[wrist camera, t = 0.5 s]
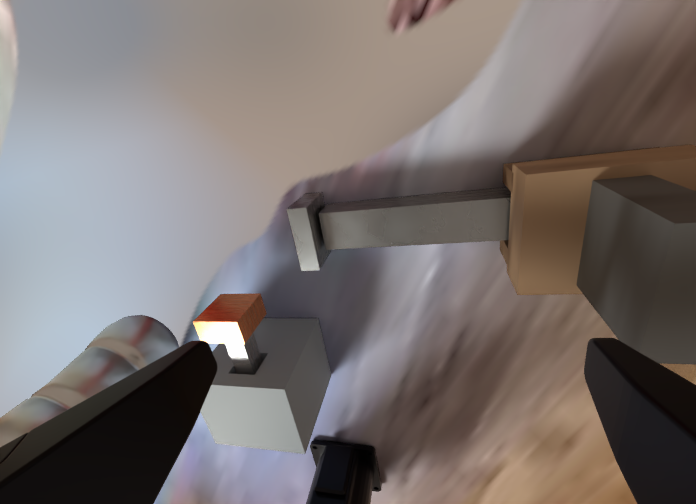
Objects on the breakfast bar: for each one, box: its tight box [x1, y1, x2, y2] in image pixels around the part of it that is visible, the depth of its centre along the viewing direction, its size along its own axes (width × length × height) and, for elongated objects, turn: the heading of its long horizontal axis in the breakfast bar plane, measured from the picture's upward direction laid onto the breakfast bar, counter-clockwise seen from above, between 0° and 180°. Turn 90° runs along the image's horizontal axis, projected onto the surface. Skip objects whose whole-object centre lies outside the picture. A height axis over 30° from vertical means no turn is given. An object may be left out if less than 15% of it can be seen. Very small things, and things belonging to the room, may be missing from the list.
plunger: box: [193, 294, 267, 375], centre depth 22 cm, size 7×3×3 cm, turn 11°
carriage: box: [500, 145, 696, 364], centre depth 14 cm, size 6×7×9 cm
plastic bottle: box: [0, 315, 179, 447], centre depth 22 cm, size 6×7×20 cm
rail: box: [287, 187, 511, 271], centre depth 18 cm, size 4×21×3 cm, turn 101°
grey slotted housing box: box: [200, 318, 331, 454], centre depth 25 cm, size 6×7×7 cm
